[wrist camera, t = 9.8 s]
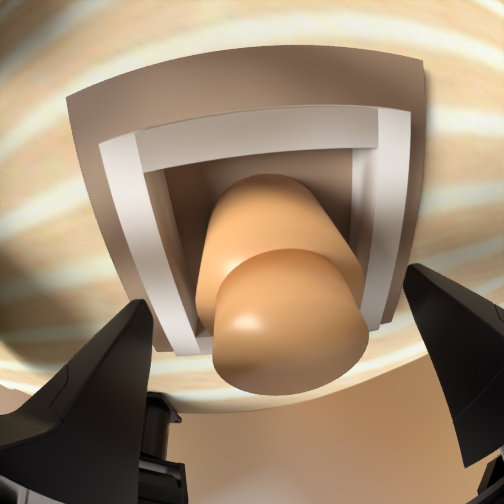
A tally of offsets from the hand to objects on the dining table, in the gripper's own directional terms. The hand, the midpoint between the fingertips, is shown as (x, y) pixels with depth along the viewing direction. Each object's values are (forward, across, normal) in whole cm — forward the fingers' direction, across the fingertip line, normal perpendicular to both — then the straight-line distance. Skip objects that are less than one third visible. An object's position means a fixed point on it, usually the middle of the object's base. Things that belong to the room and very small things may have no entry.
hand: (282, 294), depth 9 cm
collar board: (+6, 0, 0) cm, 6 cm away
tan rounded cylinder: (+4, 0, 0) cm, 5 cm away
